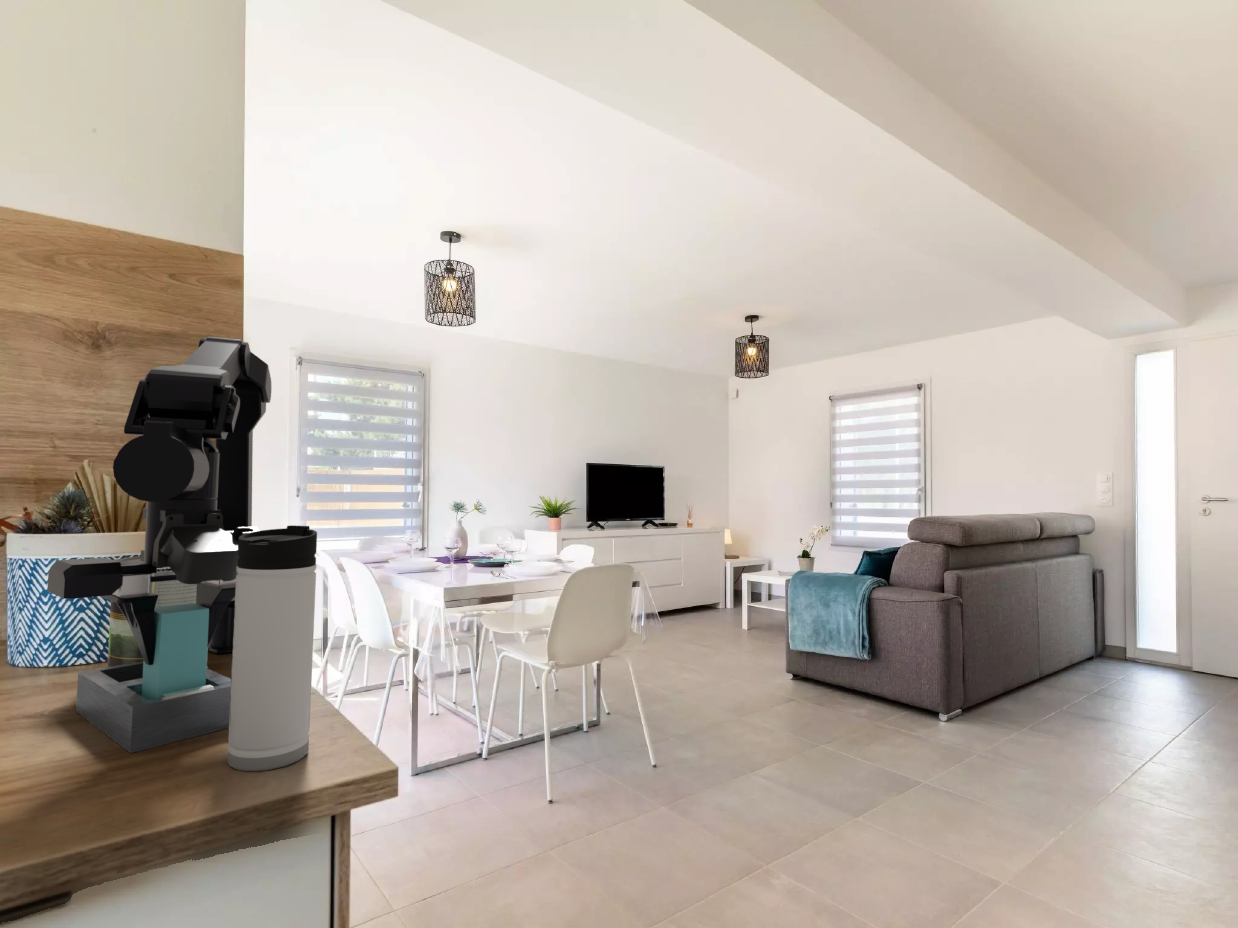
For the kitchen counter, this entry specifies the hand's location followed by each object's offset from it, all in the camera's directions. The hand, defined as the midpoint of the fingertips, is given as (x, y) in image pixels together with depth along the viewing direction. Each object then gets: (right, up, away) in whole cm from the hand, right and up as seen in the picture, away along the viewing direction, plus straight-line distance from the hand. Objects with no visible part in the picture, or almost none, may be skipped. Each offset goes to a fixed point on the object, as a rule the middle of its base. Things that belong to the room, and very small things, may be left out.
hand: (175, 659), depth 63 cm
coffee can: (-13, -7, +16) cm, 22 cm away
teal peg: (0, -5, 0) cm, 5 cm away
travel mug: (+12, -7, -6) cm, 15 cm away
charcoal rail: (-3, -7, +2) cm, 8 cm away
